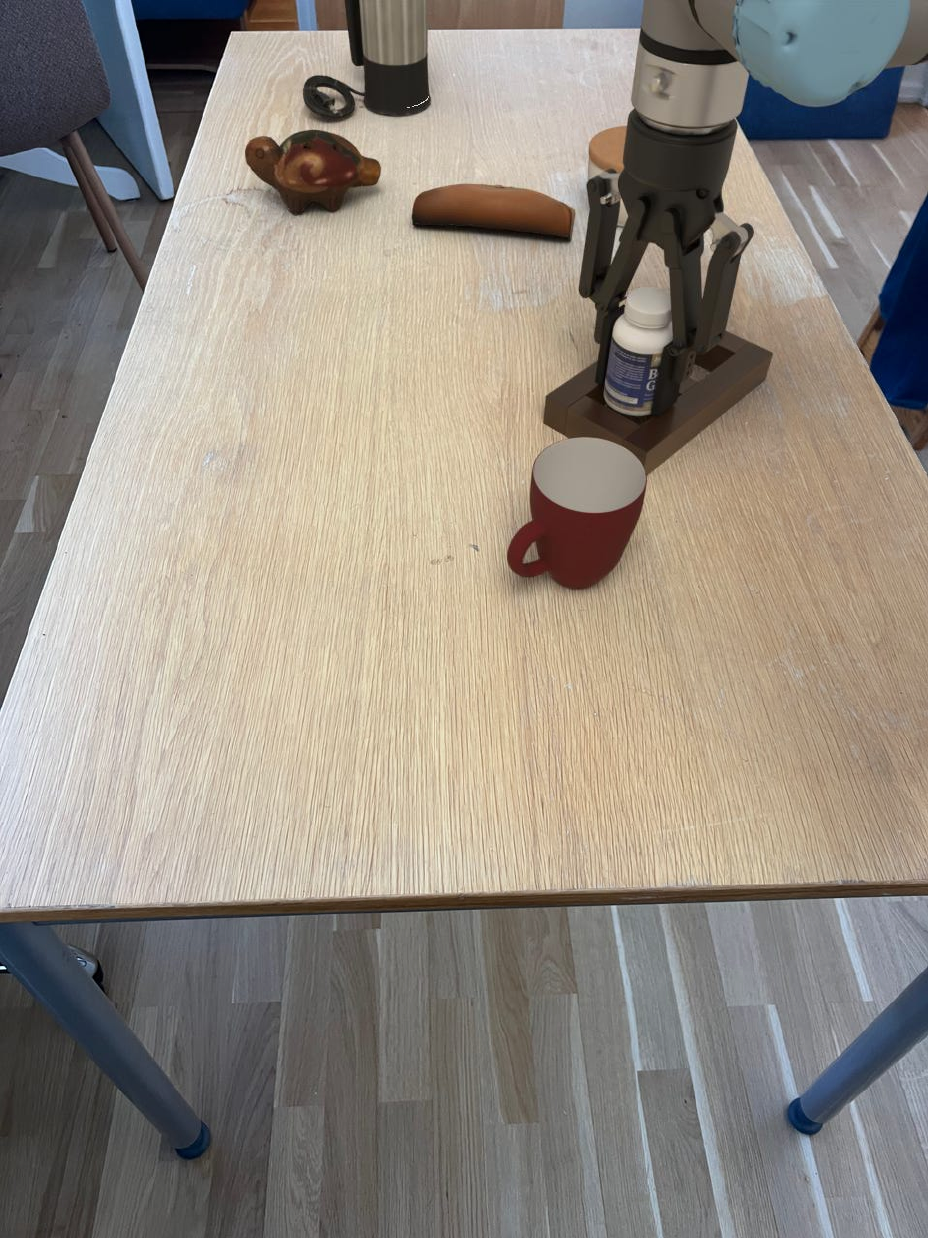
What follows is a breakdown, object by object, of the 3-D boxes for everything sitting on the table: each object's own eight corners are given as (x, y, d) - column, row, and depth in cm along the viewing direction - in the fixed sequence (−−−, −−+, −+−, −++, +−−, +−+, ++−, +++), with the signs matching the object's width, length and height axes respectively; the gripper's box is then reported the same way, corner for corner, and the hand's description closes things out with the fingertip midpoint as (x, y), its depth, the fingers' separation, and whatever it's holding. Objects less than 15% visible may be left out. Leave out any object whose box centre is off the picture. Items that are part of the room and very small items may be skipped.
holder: (765, 379, 89) (773, 352, 87) (641, 480, 80) (647, 452, 78) (670, 333, 94) (675, 306, 92) (542, 422, 85) (545, 395, 82)
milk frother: (445, 98, 129) (443, -28, 118) (378, 141, 121) (370, 10, 109) (361, 76, 134) (352, -48, 123) (291, 116, 125) (274, -13, 114)
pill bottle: (648, 426, 81) (667, 325, 73) (592, 404, 82) (605, 304, 75) (674, 393, 84) (696, 293, 76) (620, 373, 85) (635, 274, 78)
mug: (553, 645, 68) (565, 549, 61) (478, 583, 72) (481, 486, 65) (649, 574, 73) (671, 477, 65) (574, 519, 77) (587, 421, 69)
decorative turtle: (244, 193, 112) (236, 120, 106) (368, 184, 116) (367, 113, 110) (258, 228, 105) (250, 153, 100) (389, 217, 109) (389, 144, 104)
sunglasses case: (577, 204, 109) (579, 168, 103) (569, 260, 108) (571, 227, 102) (425, 191, 111) (418, 154, 105) (416, 246, 110) (408, 212, 104)
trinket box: (673, 194, 112) (687, 111, 105) (677, 240, 105) (693, 155, 98) (582, 190, 113) (591, 107, 106) (581, 235, 106) (590, 150, 99)
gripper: (546, 90, 67) (527, 366, 85) (771, 174, 59) (698, 460, 77) (611, 60, 70) (580, 332, 88) (832, 136, 62) (748, 418, 80)
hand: (635, 391), depth 82 cm, fingers closed on pill bottle, 5 cm apart
